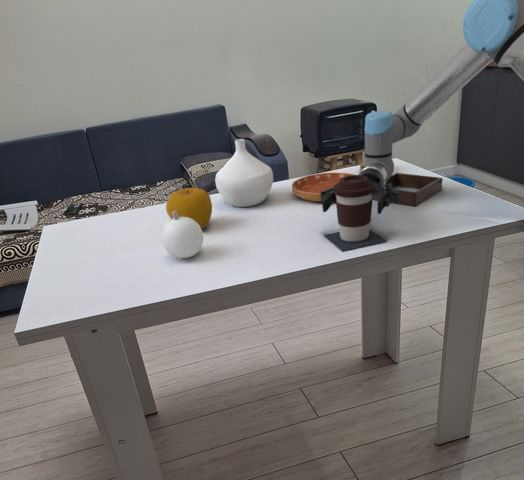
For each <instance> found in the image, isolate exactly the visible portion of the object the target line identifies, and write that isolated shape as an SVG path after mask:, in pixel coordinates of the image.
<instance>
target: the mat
mask: <svg viewBox="0 0 524 480" xmlns="http://www.w3.org/2000/svg"><path fill="white" fill-rule="evenodd" d="M323 236H324V238H325V239H327V240H328V241H329V242H331V243H332V244H333V246H335V247H336V248H338V249H339V250H340V251H341V252H343V253H344V252H348V251H353V250H357V249H361V248H366V247H370V246H375V245H379V244H385V243H387V242H388V240H387V239H386V238H384V237H382V236H381V235H380V234H378V233H377V232H375V231H374V230H372V229H371V228H369V236H368V238H367V239H365V240H363V241H360V242H347V241H344V240H342V239H341V237H340V230H339V231H335V232H331V233H326V234H323Z"/></svg>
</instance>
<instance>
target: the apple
mask: <svg viewBox="0 0 524 480" xmlns="http://www.w3.org/2000/svg"><path fill="white" fill-rule="evenodd" d="M165 210H166V213H167V215H168V217H169V219H170V220H172V219H173V211H177V214H178V217H188V218H191V219H193V220H194V221H196V222H197V223H198V225H199V226H200V228H201V230H202V229H204V228H206V227H207V226H208V225H209V223H210V221H211V217H212V213H213V203H212V199H211V196H210V194H209V193H208V192H207V191H206V190H204V189H203V188H198V187H187V188H182V189H178V190H176V191H174V192H172V193H171V194H170V195H169V196H168V199H167V202H166V205H165Z"/></svg>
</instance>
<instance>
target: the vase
mask: <svg viewBox="0 0 524 480" xmlns="http://www.w3.org/2000/svg"><path fill="white" fill-rule="evenodd" d="M234 144H235V152H234V154H233V156H232V157H231V158H230V159H229V160H228V161H227V162H226V163H225V164H224V165H223V166H222V167H221V168H220V169H219V170H218V171H217V172H216V174H215V179H214V182H215V188H216V190H217V191H218V193H219V195H220V196H221V197H222V199H224V201H226V202H227V203H228V204H230V205H231V206H233V207H237V208H247V207H249V208H250V207H253V206H257V205H259V204H261V203H263V202H264V200H265V199H266V198H267V197H268V195H269V194H270V192H271V190H272V187H273V184H274V171H273V170H272V168H271V166H269V165H268V164H266V163H264V162H263V161H261V160H259V159H258V158H257V157H255V156H253V154H251V153H249V152H248V150H247V147H246V141H245V139H244V138H238V139H235V140H234Z"/></svg>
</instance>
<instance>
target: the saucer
mask: <svg viewBox="0 0 524 480" xmlns="http://www.w3.org/2000/svg"><path fill="white" fill-rule="evenodd" d="M350 175H355V174H354V173H348V172H323V173H315V174H310V175H306V176H303V177H300V178H297V179H296V180H294V181H293V182H292V184H291V192H292V193H293V194H294V195H295V196H297V197H299V198H301V199H302V200H304V201H309V202H316V203H317V202H320V203H322V202H321V198H320V192H321V191H323V190H326V189H328V188H331V187H334V185H335V184H337V183H339V181H340V179H341V178H343V177H345V176H350Z"/></svg>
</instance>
